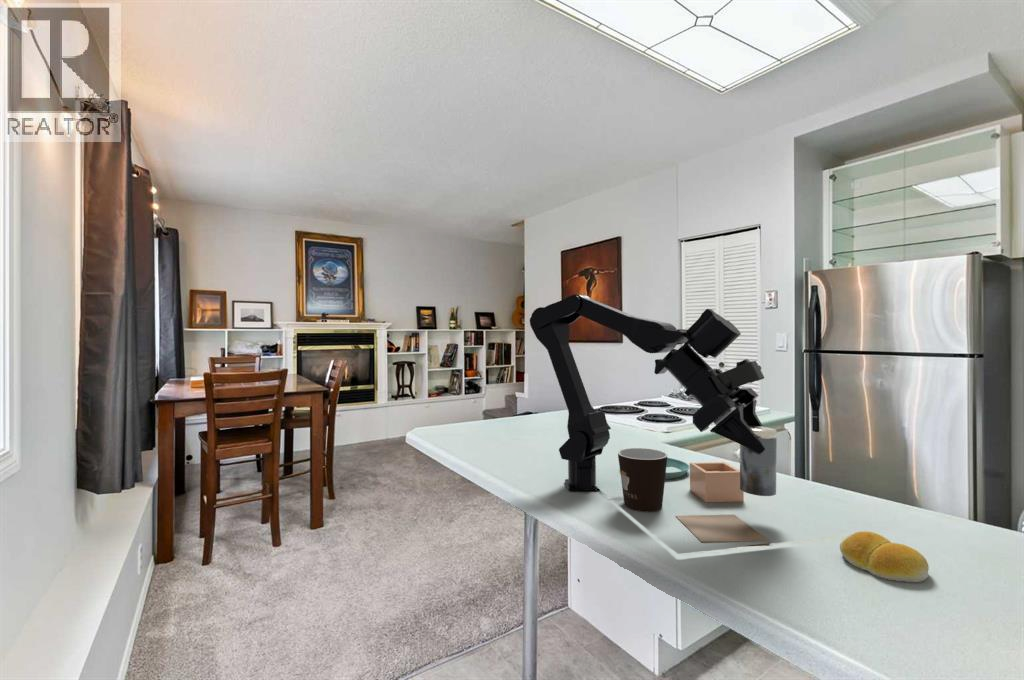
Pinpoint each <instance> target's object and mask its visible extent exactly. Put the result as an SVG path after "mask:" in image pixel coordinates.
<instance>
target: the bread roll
mask: <svg viewBox="0 0 1024 680" xmlns="http://www.w3.org/2000/svg"><path fill="white" fill-rule="evenodd" d="M839 551H840V553H841V554H842V556H843V558H844V559H845V560H846V561H847V562H848V563H849V564H850V565H852V566H854V567H856V568H858V569H860V570H862V571H867V572H868V573H870V574H871V575H873V576H875V575H876V576H875V577H878V578H880V577H881V578H880V579H883V578H884V580H887V579H888V581H893V580H896V581H895V582H901V581H906V582H905V583H921V582H924V581H925V580H927V578H928V577H929V569H930V568H929V567H930V565H929V563H928V561H927V559H926V558H925V555H923V554H921V552H920V551H918V550H916V548H913V547H910V546H907V545H905V544H903V543H902V544H901V543H898V542H892V541H890V540H889V539H888V538H886V537H885V536H883V535H881V534H878V533H876V532H872V531H865V530H864V531H858V532H854V533H852V534H850V535H849V536H847V537H846V538H844V539H843V540H842V541H841V542H840V544H839Z"/></svg>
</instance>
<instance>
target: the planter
mask: <svg viewBox="0 0 1024 680" xmlns="http://www.w3.org/2000/svg"><path fill="white" fill-rule="evenodd" d="M707 471H720V472H707ZM689 491H691V492H692V493H693V494H695V495H696V496H698V497H699V498H700V499H701V500H702V501H703V502H705V503H726V502H727V503H728V502H729V503H731V502H732V503H733V502H734V503H735V502H737V503H738V502H744V500H745V499H744V495H745V492H743V491H742V490H740V469H738V468H736V467H735V466H733V465H730V464H729V463H727V462H725V461H720V462H719V461H715V462H712V461H711V462H710V461H709V462H689Z"/></svg>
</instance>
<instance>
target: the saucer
mask: <svg viewBox="0 0 1024 680" xmlns="http://www.w3.org/2000/svg"><path fill="white" fill-rule="evenodd" d="M666 468H676V469H678V470H680V471H674V472H671V471H670V472H666V475H665V480H670V479H671V480H673V479H677V478H681V477H683V476H684V475H685V474H687V472H688V471H689V470H690V464H688V463H687V462H685V461H682V460H680V459H675V458H671V457H667V465H666Z"/></svg>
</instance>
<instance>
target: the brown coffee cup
mask: <svg viewBox="0 0 1024 680" xmlns="http://www.w3.org/2000/svg"><path fill="white" fill-rule="evenodd" d="M617 458H618V465H619V466H618V467H619V473H620V482H621V488H622V497H623V503H624V507H626V508H627V509H629V510H632V511H634V512H635V511H636V512H642V513H654V512H659V511H661V510H662V508H663V502H664V492H665V482H666V479H665V475H666V473H667V467H666V465H667V458H668V454H667V453H666V451H662V450H660V449H659V450H658V449H653V448H646V447H645V448H644V447H630V448H622V449H619V450H618V451H617Z"/></svg>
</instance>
